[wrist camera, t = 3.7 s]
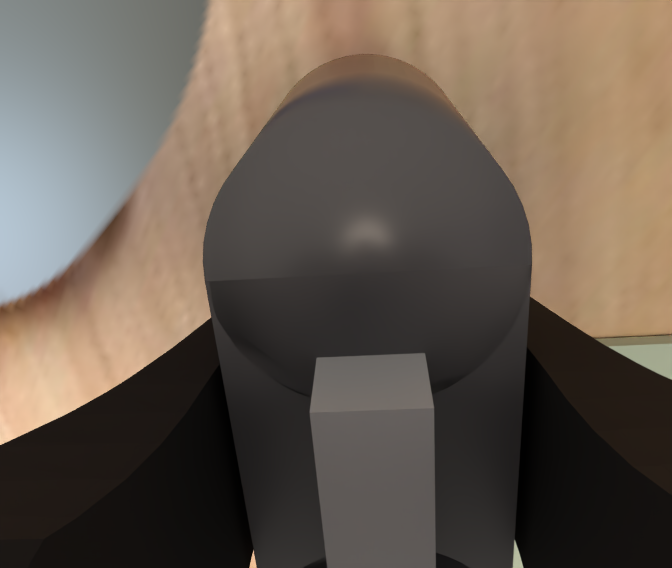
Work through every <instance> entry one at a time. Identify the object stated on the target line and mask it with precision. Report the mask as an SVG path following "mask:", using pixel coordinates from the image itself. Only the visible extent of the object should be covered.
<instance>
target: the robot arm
mask: <svg viewBox="0 0 672 568" xmlns="http://www.w3.org/2000/svg"><path fill="white" fill-rule="evenodd" d="M515 542H516V545H517V548H518V551H519V554H520V557H521V561H522V564H523V568H672V380H671V379H669V378H667V377H665V376H662V375H660V374H658V373H656V372H654V371H652V370H650V369H648V368H646V367H644V366H642V365H640V364H638V363H636V362H635V361H633V360H631V359H629V358H627V357H625V356H624V355H622V354H620V353H618V352H616V351H615V350H613V349H611V348H609V347H607V346H606V345H604V344H602V343H601V342H599V341H597V340H596V339H594V338H592V337H591V336H589V335H587V334H586V333H584V332H583V331H581V330H579V329H578V328H576V327H575V326H573V325H572V324H570V323H569V322H567V321H565V320H564V319H562V318H561V317H559V316H558V315H556V314H555V313H553V312H552V311H550V310H549V309H548V308H546V307H545V306H543V305H542V304H540V303H539V302H537V301H536V300H534V299H533V298H531V297H530V302H529V318H528V334H527V350H526V366H525V381H524V397H523V413H522V429H521V445H520V461H519V477H518V493H517V508H516V524H515ZM252 553H253V543H252V538H251V532H250V527H249V521H248V516H247V510H246V505H245V499H244V494H243V488H242V483H241V477H240V472H239V466H238V461H237V455H236V450H235V444H234V439H233V433H232V427H231V422H230V416H229V411H228V405H227V400H226V394H225V389H224V383H223V378H222V372H221V367H220V361H219V356H218V350H217V345H216V339H215V334H214V328H213V323H212V317H211V318H210V319H209V320H208V321H206V322H205V323H204V324H203V325H201V326H200V327H199V328H197V329H196V330H195V331H194V332H192V333H191V334H190V335H188V336H187V337H186V338H185V339H183V340H182V341H181V342H179V343H178V344H177V345H176V346H174V347H173V348H172V349H170V350H169V351H167V352H166V353H164V354H163V355H162V356H160V357H159V358H157V359H156V360H154V361H153V362H152V363H150V364H149V365H147V366H146V367H144V368H143V369H142V370H140V371H139V372H137V373H136V374H134V375H133V376H132V377H130V378H129V379H127V380H125V381H124V382H122V383H121V384H119V385H117V386H116V387H114V388H113V389H111V390H109V391H108V392H106V393H104V394H102V395H101V396H99V397H97V398H95V399H94V400H92V401H90V402H88V403H86V404H85V405H83V406H81V407H79V408H77V409H76V410H74V411H72V412H70V413H68V414H66V415H64V416H62V417H60V418H58V419H56V420H53V421H51V422H49V423H47V424H45V425H43V426H41V427H39V428H36V429H34V430H32V431H30V432H28V433H26V434H24V435H21V436H19V437H17V438H15V439H13V440H11V441H9V442H7V443H4V444H2V445H0V568H249V566H250V562H251V557H252Z"/></svg>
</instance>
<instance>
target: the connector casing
mask: <svg viewBox="0 0 672 568" xmlns="http://www.w3.org/2000/svg"><path fill="white" fill-rule="evenodd" d="M203 267H204V276H205V284H206V289H207V295H208V301H209V306H210V312H211V317H212V323H213V328H214V334H215V339H216V345H217V350H218V356H219V361H220V367H221V372H222V378H223V383H224V389H225V394H226V400H227V405H228V411H229V416H230V422H231V427H232V433H233V439H234V444H235V450H236V455H237V461H238V466H239V472H240V477H241V483H242V488H243V494H244V499H245V505H246V510H247V516H248V521H249V527H250V532H251V538H252V543H253V549H254V554H255V560H256V565H257V568H513V556H514V540H515V524H516V508H517V493H518V477H519V461H520V445H521V429H522V413H523V397H524V381H525V366H526V350H527V334H528V318H529V302H530V286H531V270H532V244H531V237H530V231H529V225H528V221H527V218H526V215H525V212H524V209H523V205H522V203H521V201H520V199H519V197H518V195H517V193H516V191H515V189H514V186H513V185H512V183H511V182H510V180H509V179H508V177H507V176H506V174H505V173H504V172H503V170H502V169H501V167H500V166H499V165H498V163H497V162H496V161H495V159H494V158H493V157H492V155H491V154H490V153H489V151H488V150H487V149H486V147H485V146H484V145H483V144H482V142H481V141H480V140H479V138H478V137H477V136H476V134H475V133H474V132H473V130H472V129H471V128H470V126H469V125H468V124H467V122H466V121H465V120H464V119H463V117H462V116H461V115H460V113H459V112H458V111H457V109H456V108H455V107H454V105H453V104H452V103H451V101H450V100H449V99H448V98H447V96H446V95H445V94H444V92H443V91H442V90H441V89H440V88H439V86H438V85H437V84H436V83H435V82H434V81H433V80H432V79H431V78H429V77H428V76H427V75H426V74H425V73H423V72H422V71H420V70H419V69H417V68H415V67H414V66H412V65H410V64H408V63H406V62H403V61H401V60H398V59H395V58H391V57H388V56H382V55H374V54H359V55H352V56H346V57H342V58H339V59H335V60H332V61H330V62H328V63H325V64H323V65H321V66H319V67H318V68H316V69H314V70H313V71H311V72H310V73H308V74H307V75H306V76H305V77H304V78H302V79H301V80H300V81H299V82H298V83H297V84H296V85H295V86H294V87H293V88H292V89H291V91H290V92H289V93H288V95H287V96H286V97H285V99H284V100H283V102H282V103H281V104H280V106H279V107H278V108H277V110H276V111H275V113H274V114H273V115H272V117H271V118H270V120H269V121H268V122H267V124H266V125H265V126H264V128H263V129H262V131H261V132H260V133H259V135H258V136H257V137H256V139H255V140H254V142H253V143H252V144H251V146H250V147H249V149H248V150H247V151H246V153H245V154H244V155H243V157H242V158H241V160H240V161H239V162H238V164H237V165H236V167H235V168H234V169H233V171H232V172H231V174H230V175H229V177H228V178H227V179H226V181H225V182H224V184H223V185H222V187H221V189H220V191H219V193H218V195H217V197H216V199H215V201H214V203H213V206H212V209H211V212H210V216H209V219H208V222H207V226H206V232H205V237H204V245H203Z"/></svg>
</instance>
